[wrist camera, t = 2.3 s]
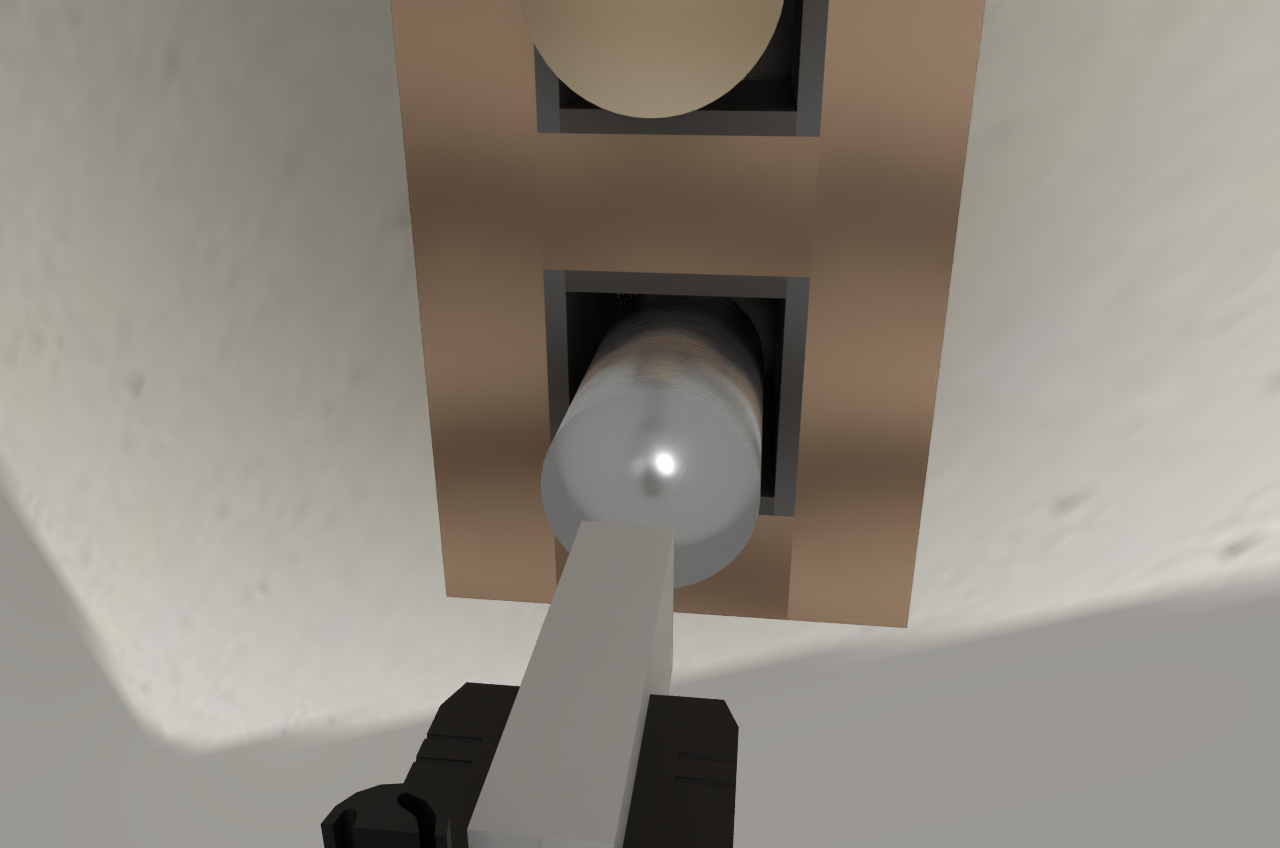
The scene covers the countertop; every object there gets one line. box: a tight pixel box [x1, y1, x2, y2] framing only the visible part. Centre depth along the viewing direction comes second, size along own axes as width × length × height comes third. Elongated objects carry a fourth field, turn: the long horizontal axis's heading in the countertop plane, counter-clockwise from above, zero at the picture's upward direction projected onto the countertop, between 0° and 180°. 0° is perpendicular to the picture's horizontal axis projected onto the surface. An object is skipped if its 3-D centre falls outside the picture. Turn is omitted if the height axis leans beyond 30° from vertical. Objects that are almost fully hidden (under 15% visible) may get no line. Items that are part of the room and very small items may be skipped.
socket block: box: [391, 0, 985, 628], centre depth 25 cm, size 21×12×8 cm, turn 0°
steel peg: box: [541, 294, 764, 588], centre depth 22 cm, size 4×4×8 cm
